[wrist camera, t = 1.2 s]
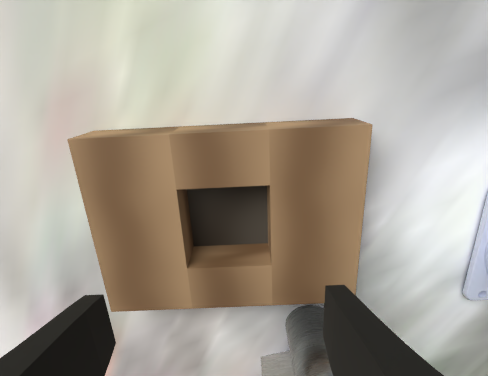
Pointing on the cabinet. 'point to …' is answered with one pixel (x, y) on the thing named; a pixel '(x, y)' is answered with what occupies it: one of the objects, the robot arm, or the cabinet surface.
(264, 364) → the blade bit
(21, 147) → the cabinet surface
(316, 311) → the dowel bit
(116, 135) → the socket block
